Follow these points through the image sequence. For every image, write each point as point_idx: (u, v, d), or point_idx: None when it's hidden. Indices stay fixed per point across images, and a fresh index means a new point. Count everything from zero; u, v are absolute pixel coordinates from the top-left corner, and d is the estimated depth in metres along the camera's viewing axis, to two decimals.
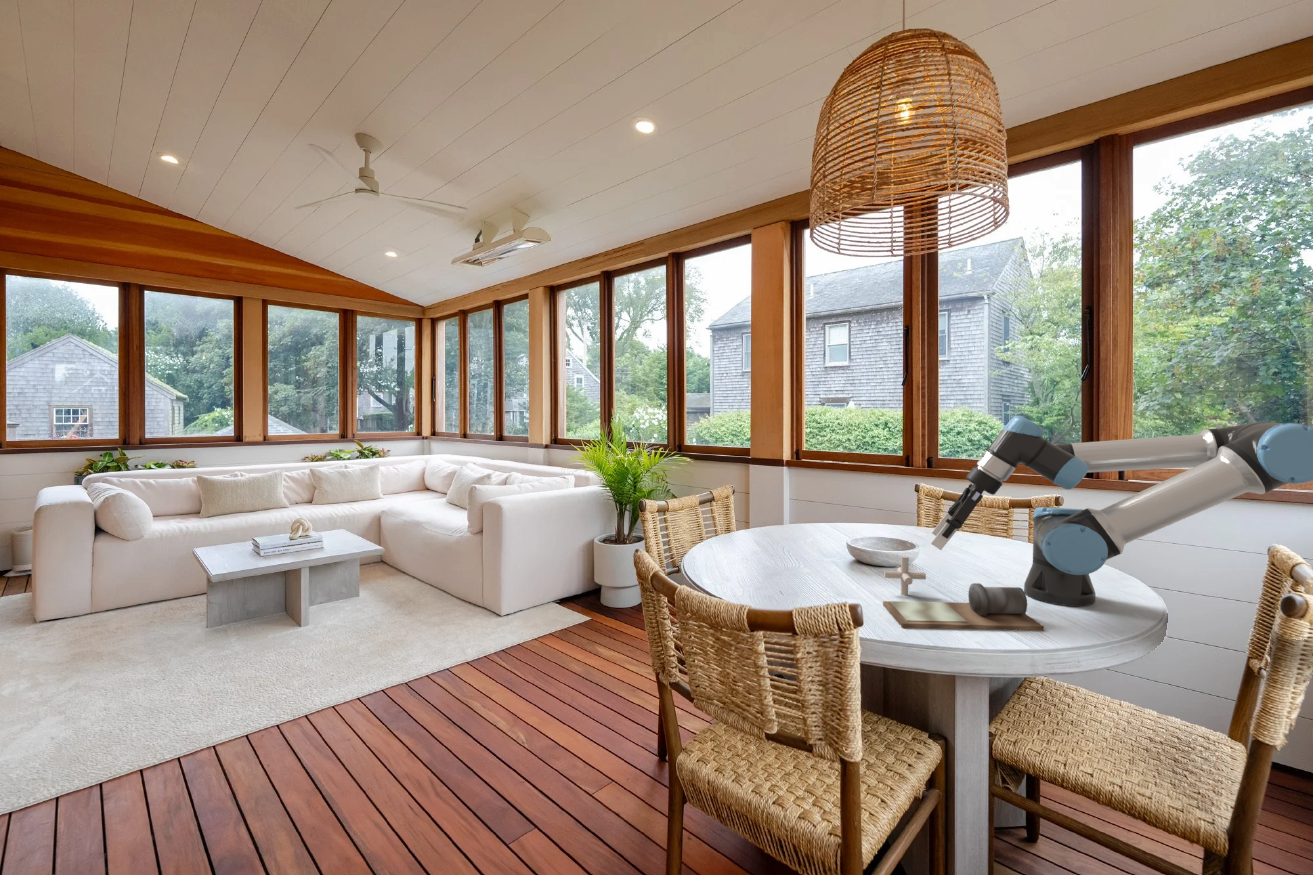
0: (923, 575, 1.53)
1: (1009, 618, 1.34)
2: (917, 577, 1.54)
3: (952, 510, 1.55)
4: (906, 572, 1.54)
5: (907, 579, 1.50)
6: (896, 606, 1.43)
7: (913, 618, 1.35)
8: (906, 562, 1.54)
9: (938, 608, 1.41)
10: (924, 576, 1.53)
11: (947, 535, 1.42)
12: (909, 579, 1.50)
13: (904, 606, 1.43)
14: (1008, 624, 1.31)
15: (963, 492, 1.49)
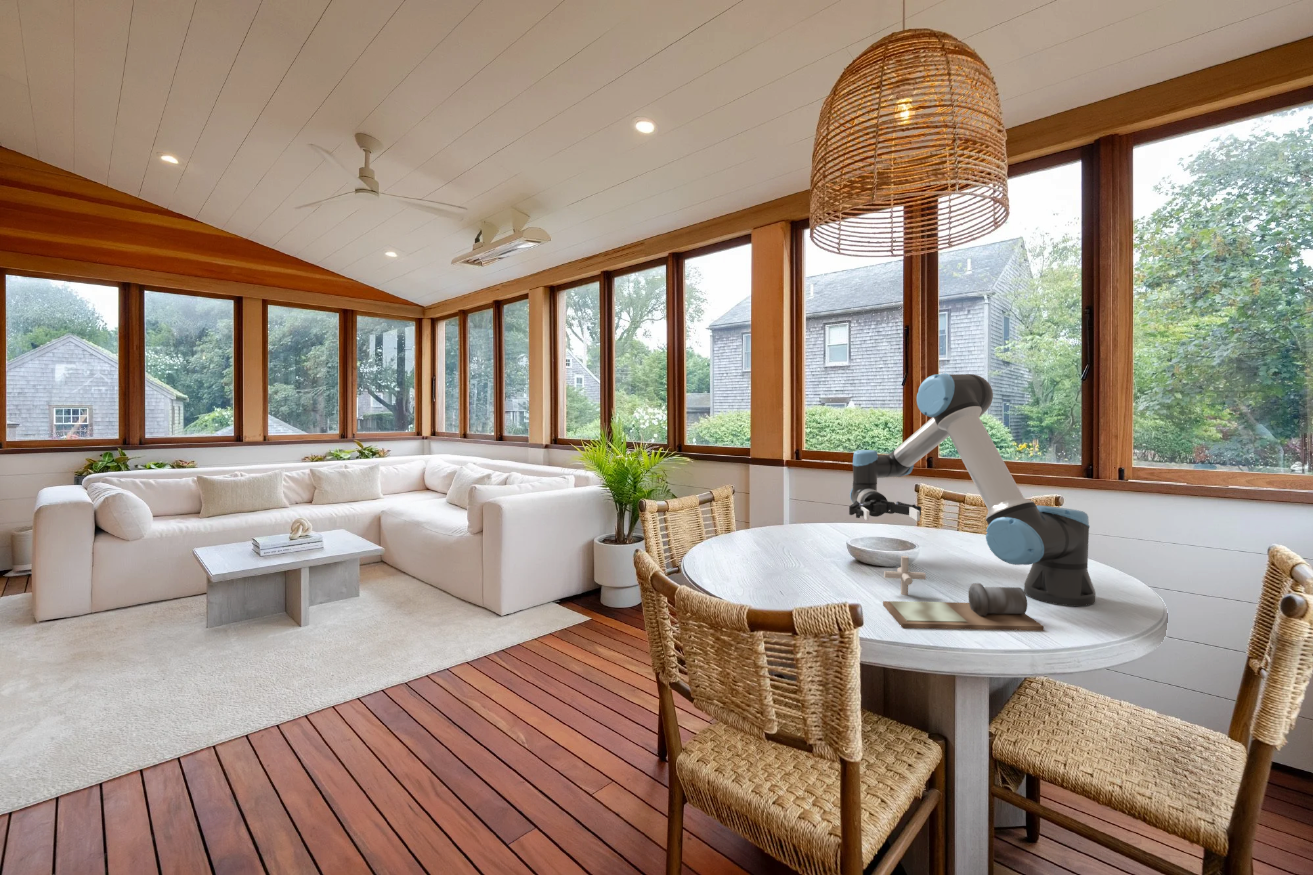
0: (924, 575, 1.53)
1: (1009, 618, 1.34)
2: (917, 577, 1.54)
3: (906, 513, 1.72)
4: (906, 572, 1.54)
5: (907, 579, 1.50)
6: (896, 606, 1.43)
7: (913, 618, 1.35)
8: (906, 562, 1.54)
9: (938, 608, 1.41)
10: (924, 576, 1.53)
11: (858, 511, 1.69)
12: (909, 579, 1.50)
13: (904, 606, 1.43)
14: (1008, 624, 1.31)
15: (883, 512, 1.78)
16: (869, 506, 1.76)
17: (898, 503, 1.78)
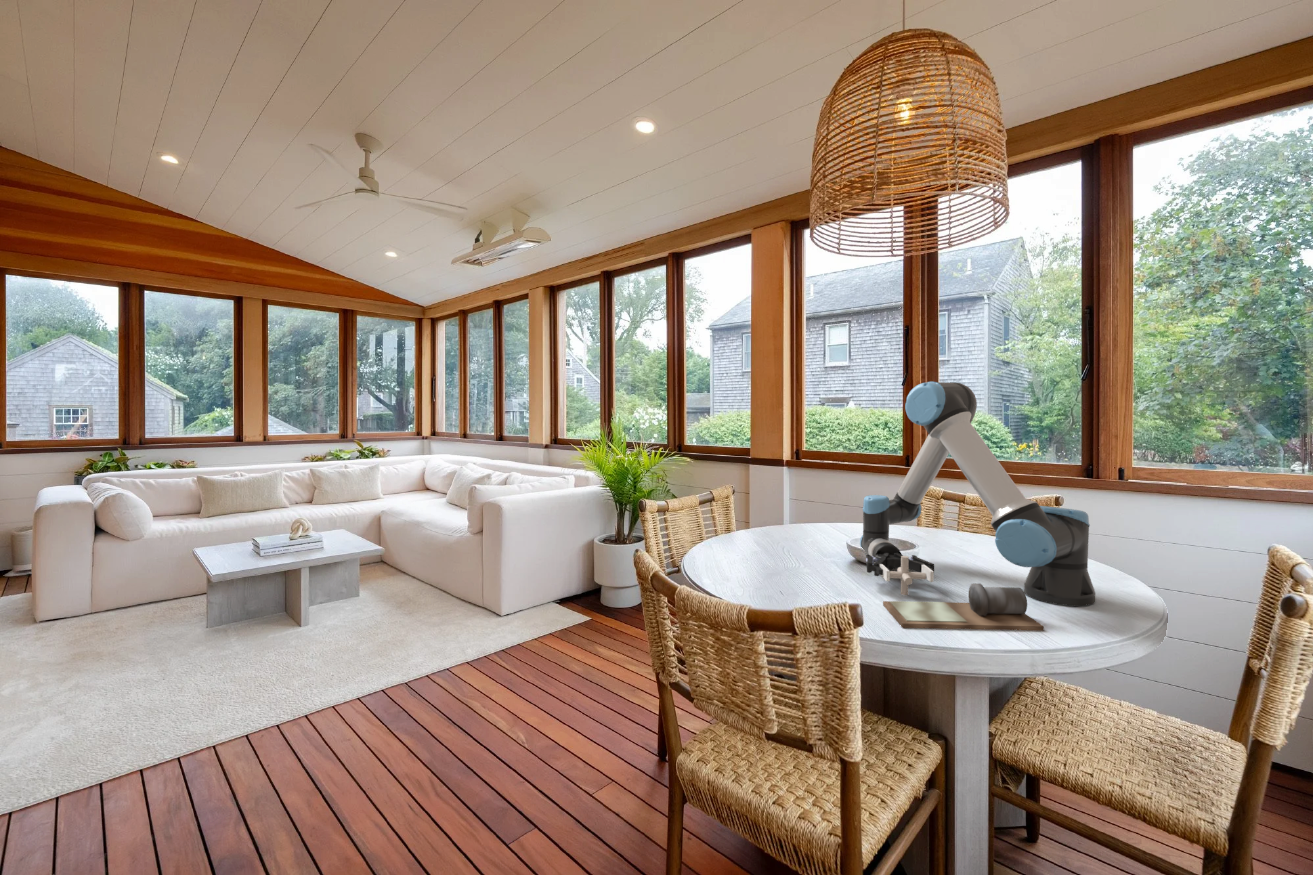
0: (924, 575, 1.53)
1: (1009, 618, 1.34)
2: (917, 577, 1.54)
3: (918, 570, 1.59)
4: (906, 572, 1.54)
5: (907, 579, 1.50)
6: (896, 606, 1.43)
7: (913, 618, 1.35)
8: (906, 562, 1.54)
9: (938, 608, 1.41)
10: (924, 576, 1.53)
11: (877, 570, 1.56)
12: (909, 579, 1.50)
13: (904, 606, 1.43)
14: (1008, 624, 1.31)
15: (896, 567, 1.66)
16: (885, 561, 1.63)
17: (913, 557, 1.65)
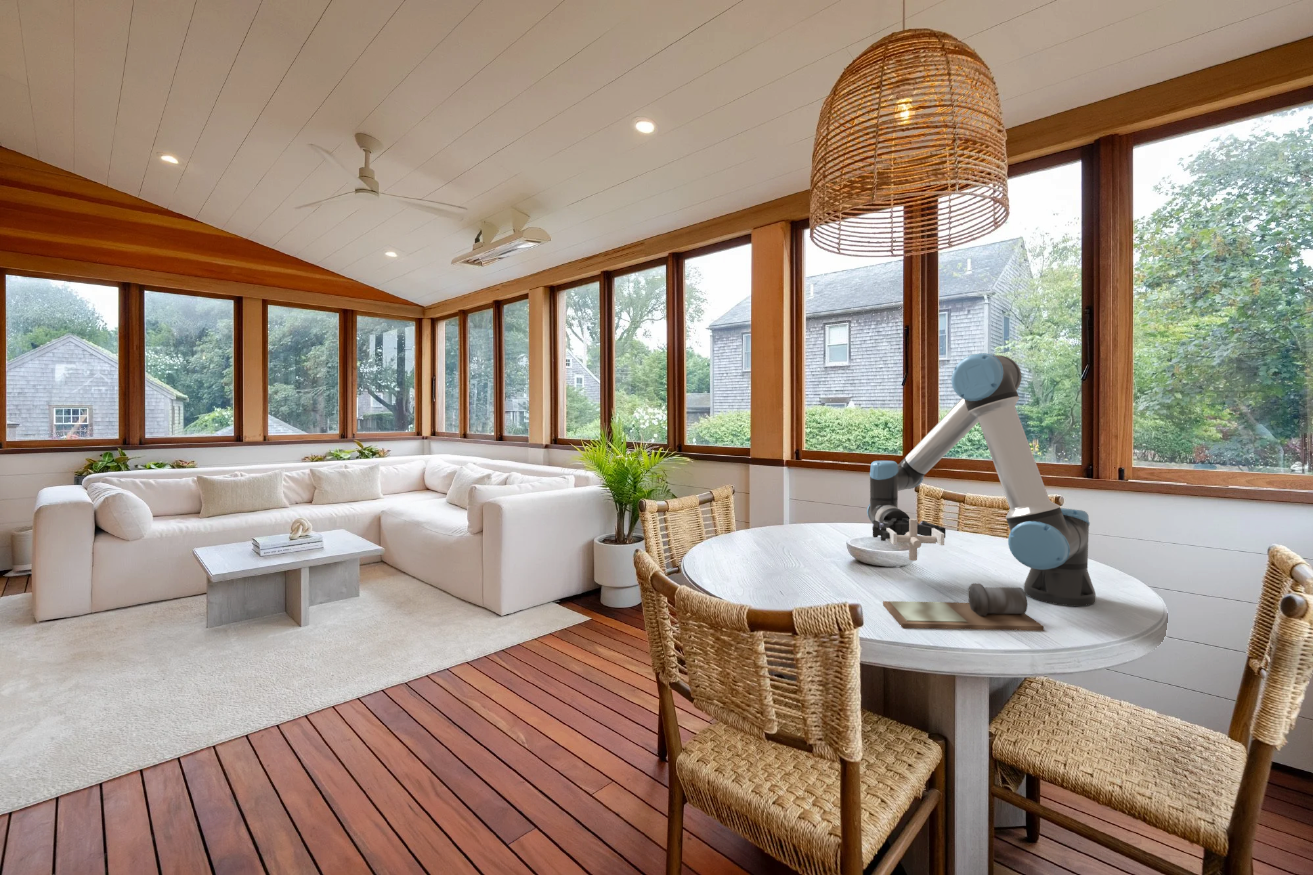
0: (934, 539, 1.43)
1: (1009, 618, 1.34)
2: (927, 541, 1.43)
3: (928, 535, 1.48)
4: (915, 536, 1.44)
5: (915, 542, 1.40)
6: (896, 606, 1.43)
7: (913, 618, 1.35)
8: (915, 525, 1.44)
9: (938, 608, 1.41)
10: (934, 539, 1.43)
11: (884, 534, 1.45)
12: (918, 542, 1.40)
13: (904, 606, 1.43)
14: (1008, 624, 1.31)
15: (904, 533, 1.55)
16: (892, 526, 1.53)
17: (922, 523, 1.55)
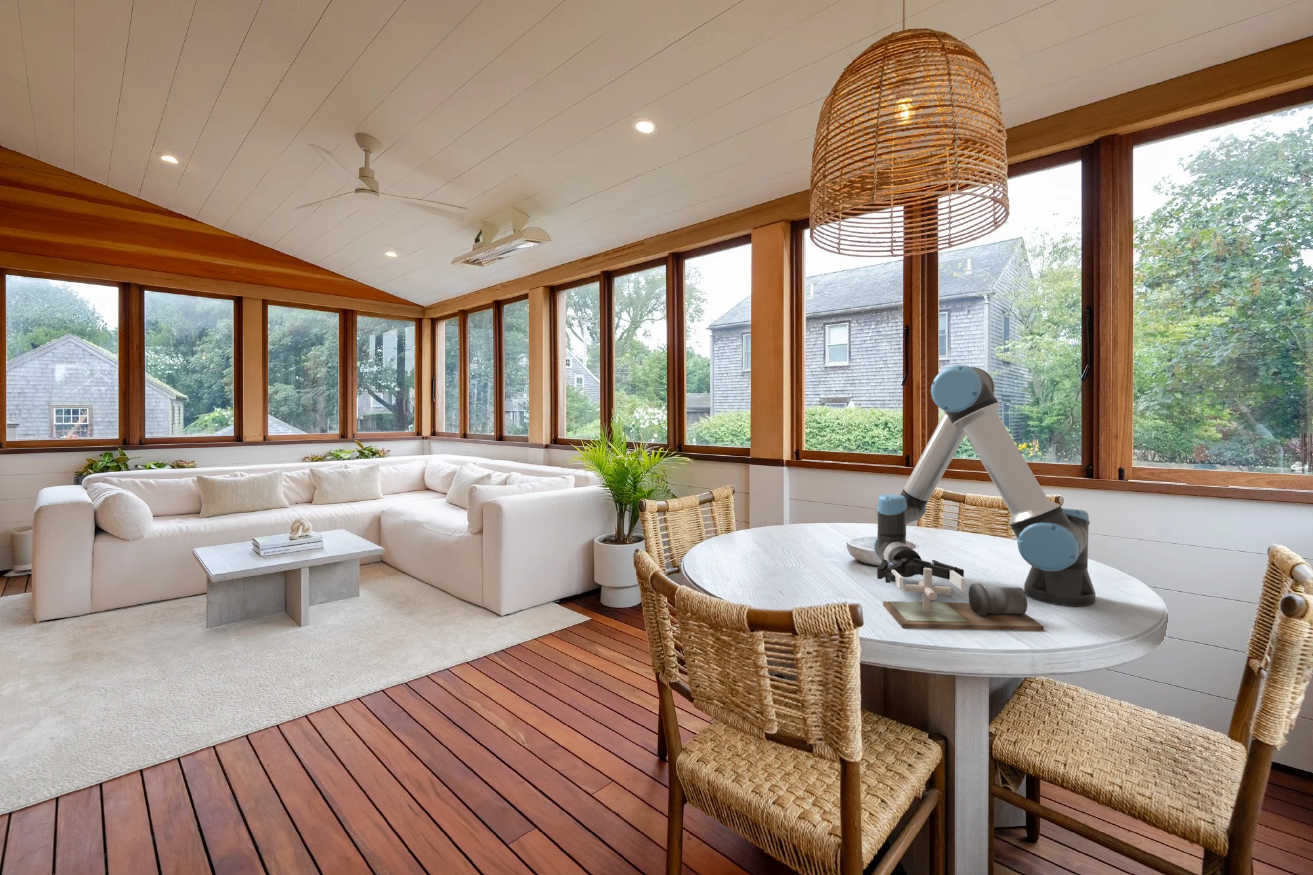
0: (949, 590, 1.37)
1: (1009, 618, 1.34)
2: (941, 592, 1.38)
3: (946, 577, 1.43)
4: (929, 586, 1.38)
5: (931, 594, 1.34)
6: (896, 606, 1.43)
7: (913, 618, 1.35)
8: (929, 575, 1.38)
9: (938, 608, 1.41)
10: (949, 590, 1.37)
11: (889, 576, 1.41)
12: (933, 594, 1.34)
13: (904, 606, 1.43)
14: (1008, 624, 1.31)
15: (916, 574, 1.50)
16: (900, 567, 1.47)
17: (934, 563, 1.49)
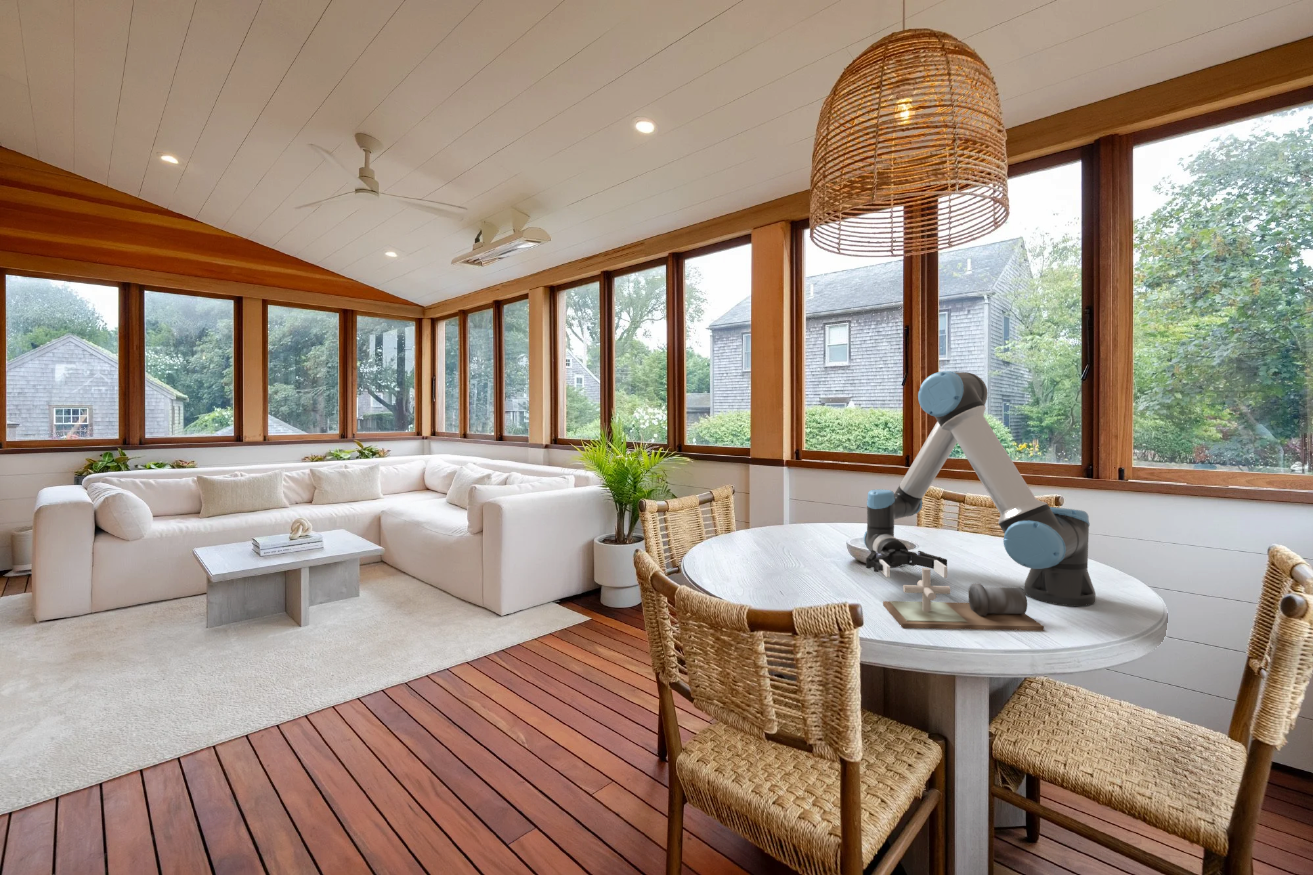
0: (948, 590, 1.37)
1: (1009, 618, 1.34)
2: (941, 591, 1.38)
3: (930, 566, 1.52)
4: (928, 586, 1.38)
5: (930, 594, 1.34)
6: (896, 606, 1.43)
7: (913, 618, 1.35)
8: (928, 575, 1.38)
9: (938, 608, 1.41)
10: (948, 590, 1.37)
11: (877, 566, 1.50)
12: (932, 594, 1.34)
13: (904, 606, 1.43)
14: (1008, 624, 1.31)
15: (903, 564, 1.59)
16: (888, 557, 1.56)
17: (920, 553, 1.59)
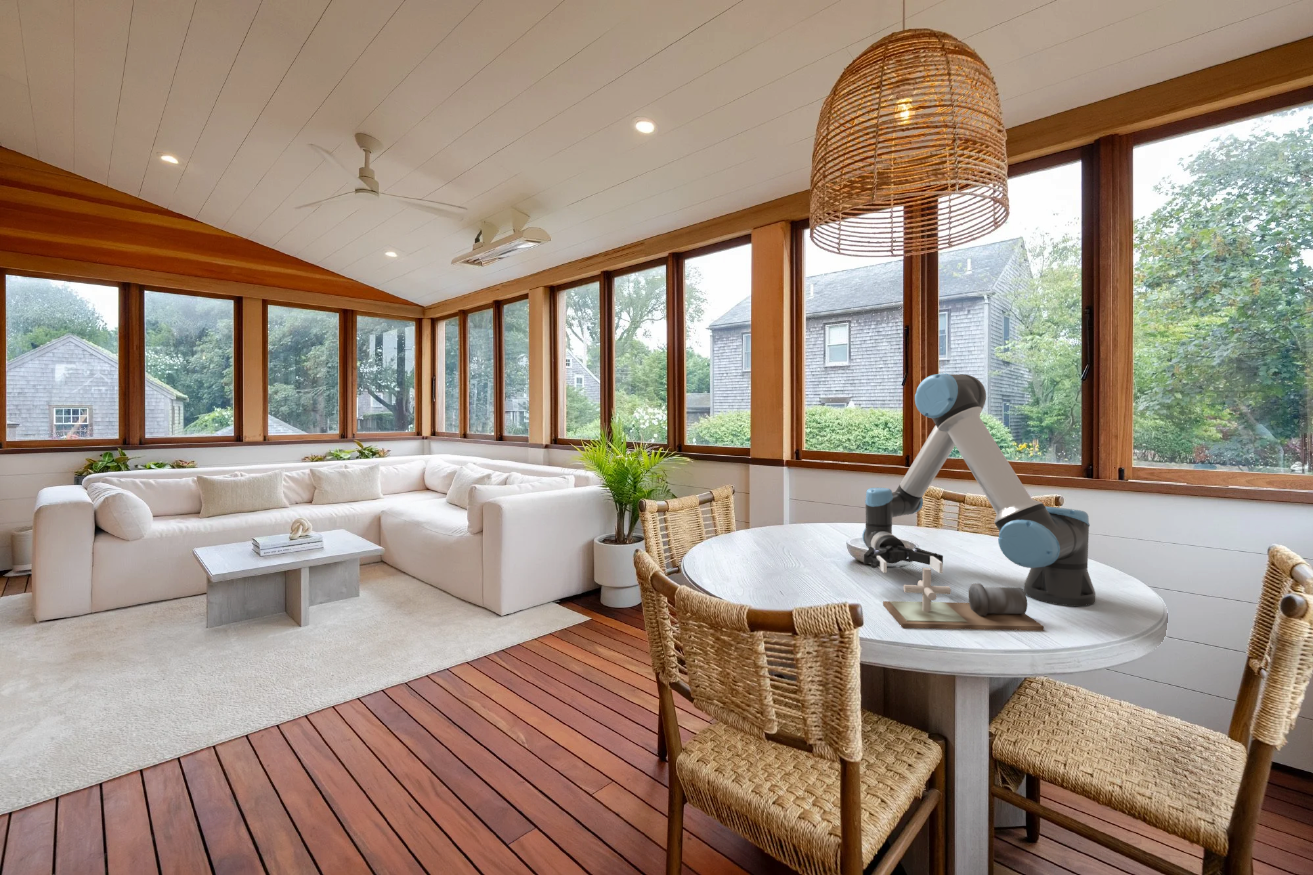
0: (948, 590, 1.37)
1: (1009, 618, 1.34)
2: (941, 592, 1.38)
3: (927, 562, 1.56)
4: (929, 586, 1.38)
5: (930, 594, 1.34)
6: (896, 606, 1.43)
7: (913, 618, 1.35)
8: (928, 575, 1.38)
9: (938, 608, 1.41)
10: (949, 590, 1.37)
11: (874, 561, 1.53)
12: (933, 594, 1.34)
13: (904, 606, 1.43)
14: (1008, 624, 1.31)
15: (900, 560, 1.62)
16: (885, 554, 1.60)
17: (917, 550, 1.62)
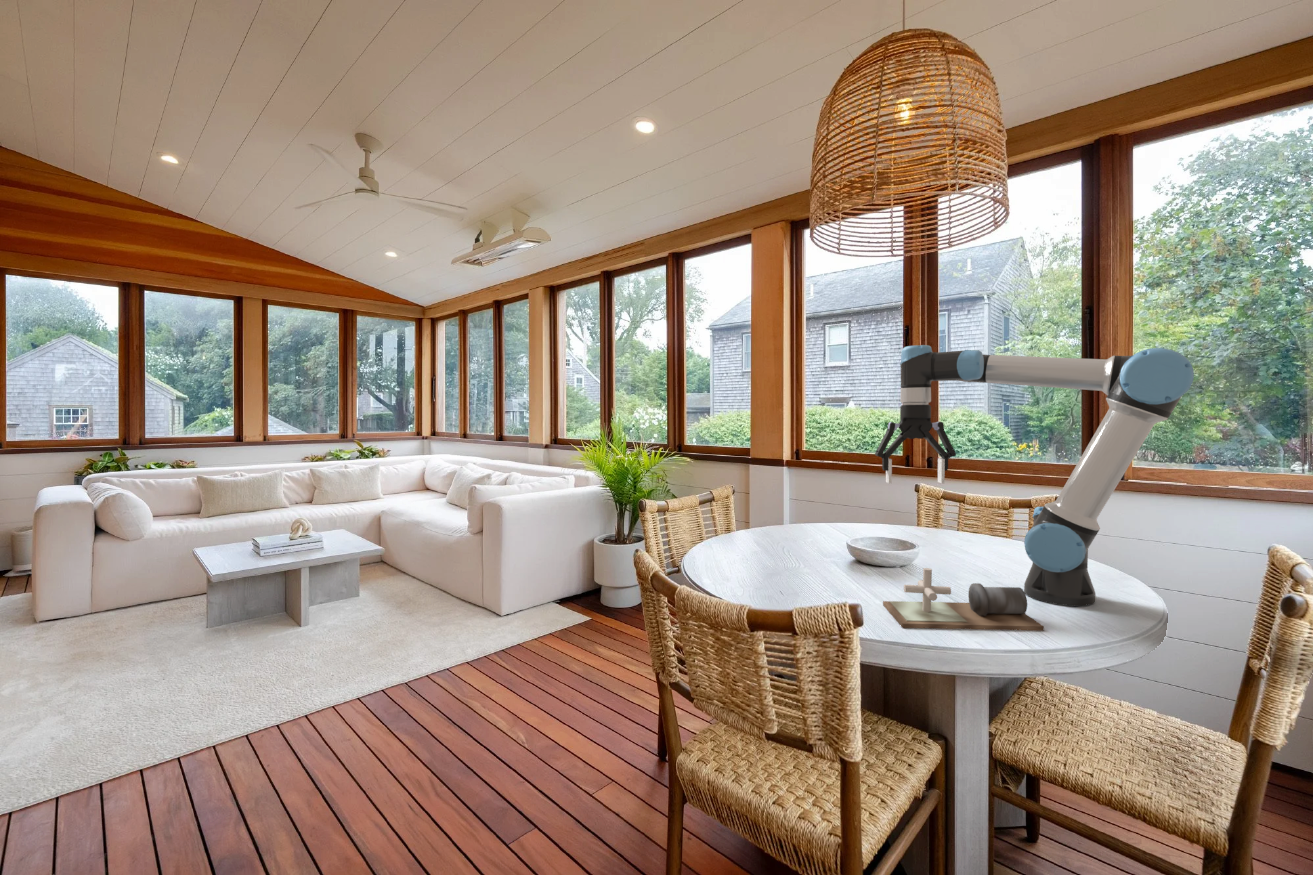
0: (948, 590, 1.37)
1: (1009, 618, 1.34)
2: (941, 592, 1.38)
3: (937, 452, 1.59)
4: (929, 586, 1.38)
5: (931, 594, 1.34)
6: (896, 606, 1.43)
7: (913, 618, 1.35)
8: (929, 575, 1.38)
9: (938, 608, 1.41)
10: (949, 590, 1.37)
11: (883, 467, 1.59)
12: (933, 594, 1.34)
13: (904, 606, 1.43)
14: (1008, 624, 1.31)
15: None
16: None
17: (939, 429, 1.57)
